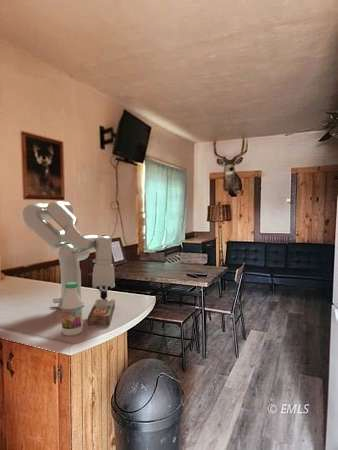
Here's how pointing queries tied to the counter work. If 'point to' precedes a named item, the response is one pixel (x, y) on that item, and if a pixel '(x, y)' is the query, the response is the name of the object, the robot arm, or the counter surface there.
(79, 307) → the milk bottle
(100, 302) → the button two
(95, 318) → the button board
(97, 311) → the button three
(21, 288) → the counter surface
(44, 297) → the counter surface
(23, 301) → the counter surface
